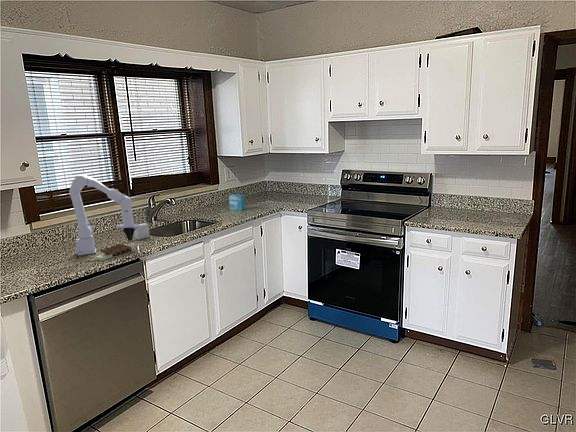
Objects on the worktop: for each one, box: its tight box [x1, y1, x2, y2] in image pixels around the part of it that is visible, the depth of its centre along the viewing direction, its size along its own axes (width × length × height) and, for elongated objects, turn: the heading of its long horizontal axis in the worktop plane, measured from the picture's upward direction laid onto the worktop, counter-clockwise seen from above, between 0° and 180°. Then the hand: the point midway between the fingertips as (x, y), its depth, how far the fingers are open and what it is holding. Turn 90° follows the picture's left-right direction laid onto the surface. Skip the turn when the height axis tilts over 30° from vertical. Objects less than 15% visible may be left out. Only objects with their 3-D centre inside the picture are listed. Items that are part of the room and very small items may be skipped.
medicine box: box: [134, 222, 150, 240], centre depth 273 cm, size 8×4×9 cm, turn 141°
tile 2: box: [110, 245, 128, 252], centre depth 243 cm, size 2×5×7 cm
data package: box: [228, 194, 246, 211], centre depth 352 cm, size 12×4×12 cm, turn 63°
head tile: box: [115, 243, 132, 251], centre depth 247 cm, size 2×5×7 cm
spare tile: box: [95, 253, 114, 261], centre depth 234 cm, size 2×5×7 cm
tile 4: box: [100, 248, 118, 256], centre depth 237 cm, size 2×5×7 cm
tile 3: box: [105, 247, 123, 254], centre depth 240 cm, size 2×5×7 cm
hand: (130, 240), depth 251 cm, fingers closed
